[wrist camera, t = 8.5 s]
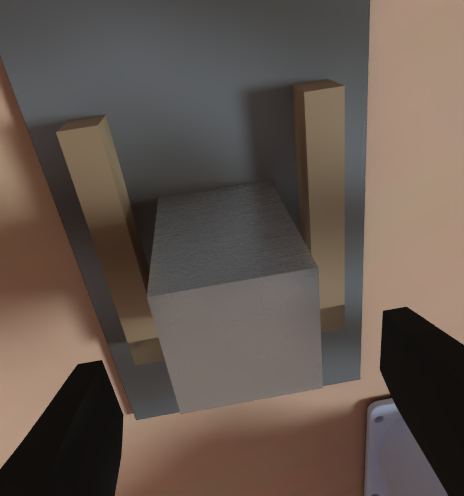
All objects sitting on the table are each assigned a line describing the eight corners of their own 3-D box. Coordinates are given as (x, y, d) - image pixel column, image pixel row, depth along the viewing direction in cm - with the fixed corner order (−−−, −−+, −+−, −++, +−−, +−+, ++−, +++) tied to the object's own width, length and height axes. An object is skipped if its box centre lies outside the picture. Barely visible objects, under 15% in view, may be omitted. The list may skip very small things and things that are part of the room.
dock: (356, 373, 21) (372, 403, 19) (136, 413, 20) (132, 448, 19) (368, -175, 11) (402, -210, 9) (-57, -115, 11) (-101, -140, 9)
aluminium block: (278, 273, 17) (322, 387, 12) (180, 290, 17) (180, 414, 12) (269, 179, 15) (318, 267, 10) (158, 197, 15) (146, 297, 10)
